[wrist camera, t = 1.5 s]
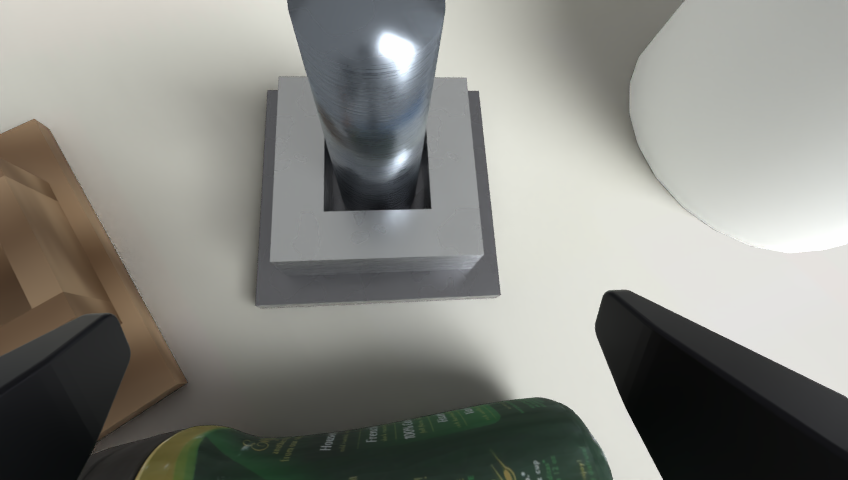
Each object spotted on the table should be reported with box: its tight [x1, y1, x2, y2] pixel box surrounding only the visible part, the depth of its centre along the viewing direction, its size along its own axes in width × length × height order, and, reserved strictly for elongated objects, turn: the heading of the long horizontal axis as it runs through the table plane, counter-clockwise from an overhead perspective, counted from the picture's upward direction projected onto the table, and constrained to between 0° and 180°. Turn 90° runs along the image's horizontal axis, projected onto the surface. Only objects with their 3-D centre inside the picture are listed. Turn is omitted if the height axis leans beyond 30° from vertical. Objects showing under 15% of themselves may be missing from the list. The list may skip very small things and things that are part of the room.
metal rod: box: [287, 0, 445, 211], centre depth 16 cm, size 4×4×12 cm
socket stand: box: [255, 76, 501, 308], centre depth 21 cm, size 12×12×4 cm
